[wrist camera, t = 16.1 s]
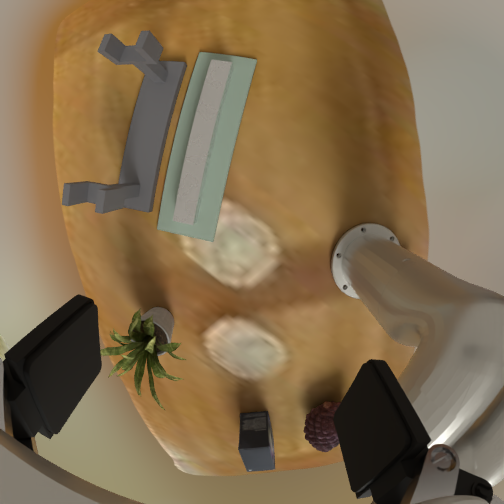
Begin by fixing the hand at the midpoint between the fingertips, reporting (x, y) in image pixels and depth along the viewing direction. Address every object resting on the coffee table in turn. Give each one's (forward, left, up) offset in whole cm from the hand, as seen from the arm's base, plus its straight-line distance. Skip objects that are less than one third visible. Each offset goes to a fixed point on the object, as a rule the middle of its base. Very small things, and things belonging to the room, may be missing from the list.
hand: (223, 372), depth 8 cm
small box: (-12, +44, -34) cm, 57 cm away
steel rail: (+9, -10, -33) cm, 35 cm away
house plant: (+10, +21, -34) cm, 41 cm away
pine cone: (-25, +37, -34) cm, 56 cm away
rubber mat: (+9, -10, -33) cm, 36 cm away
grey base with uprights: (+18, -10, -33) cm, 39 cm away
